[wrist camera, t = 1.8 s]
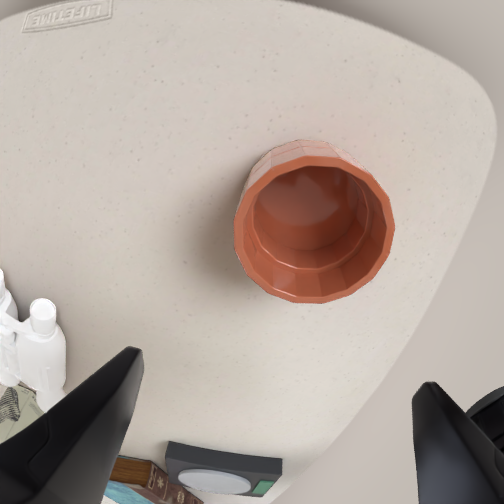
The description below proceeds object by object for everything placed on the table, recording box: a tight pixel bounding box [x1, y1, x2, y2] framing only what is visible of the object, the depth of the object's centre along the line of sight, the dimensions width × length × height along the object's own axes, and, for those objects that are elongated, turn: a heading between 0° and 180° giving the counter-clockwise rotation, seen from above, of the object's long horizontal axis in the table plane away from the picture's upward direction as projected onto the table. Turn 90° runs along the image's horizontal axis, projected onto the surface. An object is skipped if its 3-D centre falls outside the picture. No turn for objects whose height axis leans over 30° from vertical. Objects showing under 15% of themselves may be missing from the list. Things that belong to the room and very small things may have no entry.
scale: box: [165, 441, 282, 497], centre depth 34 cm, size 14×12×3 cm
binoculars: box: [0, 269, 67, 413], centre depth 23 cm, size 10×16×5 cm, turn 154°
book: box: [104, 455, 204, 504], centre depth 41 cm, size 23×18×5 cm
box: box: [0, 385, 44, 444], centre depth 26 cm, size 5×4×13 cm
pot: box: [233, 140, 395, 304], centre depth 15 cm, size 7×7×4 cm
